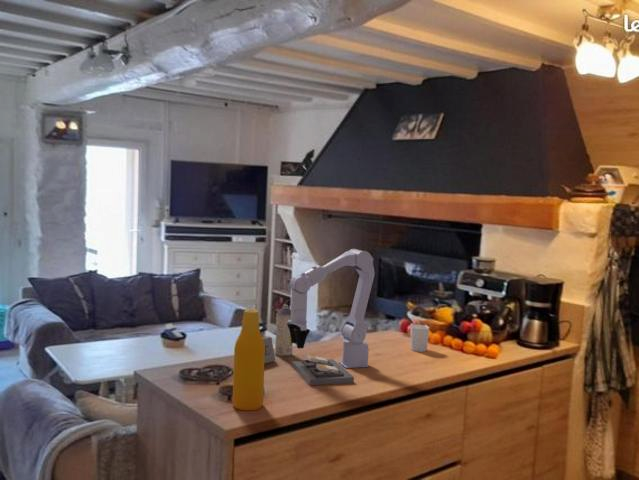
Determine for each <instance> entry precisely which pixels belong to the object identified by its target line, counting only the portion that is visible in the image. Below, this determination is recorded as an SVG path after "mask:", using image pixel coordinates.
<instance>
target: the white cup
mask: <svg viewBox="0 0 639 480" xmlns="http://www.w3.org/2000/svg"><path fill="white" fill-rule="evenodd" d="M429 335H430V327H429V326H428V325H424V324H412V325H410V350H412V351H413V352H418V353H419V352H421V353H425V352H426V351H428V344H429Z"/></svg>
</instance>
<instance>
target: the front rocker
mask: <svg viewBox="0 0 639 480" xmlns="http://www.w3.org/2000/svg"><path fill="white" fill-rule="evenodd" d="M316 368H317V369H318V370H320V371H326V372H327V373H328V371H332V373H338V371H339V370H338V369H337V368H336V367H333V366H327V365H322V364H316Z"/></svg>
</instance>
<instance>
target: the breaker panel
mask: <svg viewBox="0 0 639 480" xmlns="http://www.w3.org/2000/svg"><path fill="white" fill-rule="evenodd" d="M326 359H327V360H328V364H323V363H321V361H318V363H316V362H311V361H309V360H308V359H301V360H292V361H291V367H292V368H293V369H294V370H295V372H297V374H298V375H299V376H300V377H301V378H302V379H303V380H304V381H305V383H307V384H308V386H326V385H339V384H354V383H355V382H354V381H355V376H353V375H352V374H351V373H350V372H348V371H347V370H346V368H345V367H344V366H343V367H342V365H341V364H340V363H339V362H338V361H335V360H334V359H332V358H331V359H330V358H329V359H328V358H326ZM316 364H322V365H327V366H333V367H336V368H337V369H338V370H339V371H338V373H332V371H328V373H327V372H326V371H320V370H318V369H317V368H316Z"/></svg>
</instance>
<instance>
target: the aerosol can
mask: <svg viewBox="0 0 639 480" xmlns="http://www.w3.org/2000/svg"><path fill="white" fill-rule="evenodd" d="M290 319H291V308H290V307H289V305H288V304H283V306H282V307H281V308H280V309H279V311H276V323H275V324H276V325H275V347H274V355H275V357H276V356H277V357H281V358H282V357H283V358H287V357H291V356H292V355H293V344H294V343H292V341H291V335H290V331H289V328H288V326H287V323H288V322H287V321H288V320H290Z"/></svg>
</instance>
